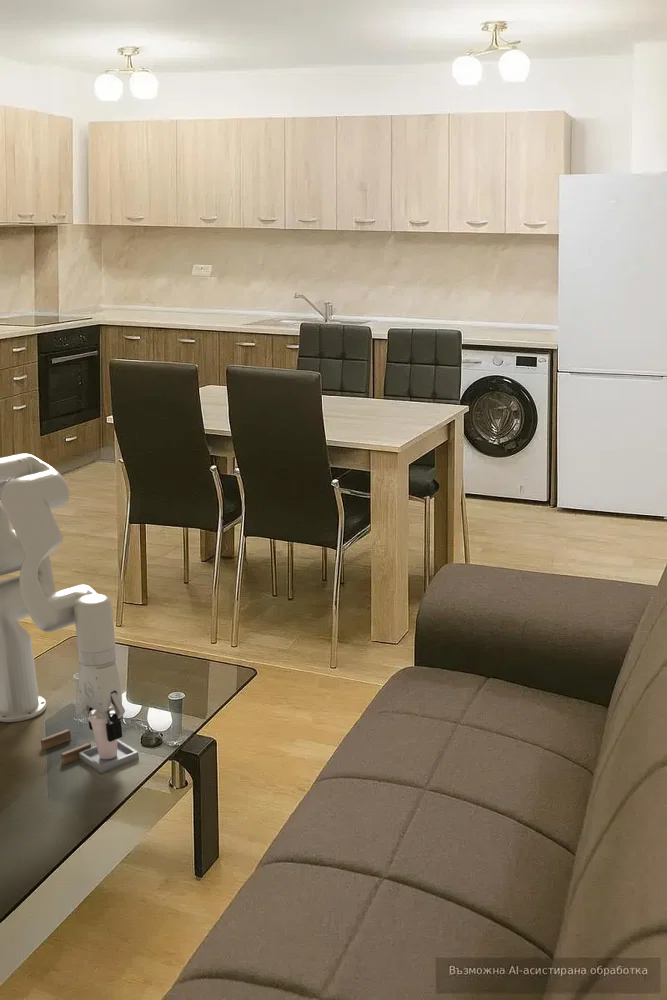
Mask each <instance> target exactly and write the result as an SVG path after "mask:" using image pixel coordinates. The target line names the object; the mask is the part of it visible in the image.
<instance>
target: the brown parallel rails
mask: <svg viewBox="0 0 667 1000" xmlns="http://www.w3.org/2000/svg"><path fill="white" fill-rule="evenodd" d="M71 740H72V737H71V730H70V729H68V728H66V729H64V730H62V731H59V732H56V733H53V734H51V735H48V736H45V737H43V738H41V739H40V746H41V750H43V751H46V750H48V749H50V748H53V747H55V746H58V745H60V744H63V743H66V742H69V741H71ZM91 747H92V744H91V743H90V742H87V743H84V744H81V745H79V746H76V747H74V748H71V749H69V750H66V751H64V752H61V754H60V757H61V764H63V765H67V764H70V763H72V762H74V761H76V760H80V759H79V752H81V751H83V750H86V749H89V748H91Z"/></svg>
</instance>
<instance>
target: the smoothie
mask: <svg viewBox="0 0 667 1000" xmlns="http://www.w3.org/2000/svg"><path fill="white" fill-rule="evenodd" d="M112 707H113V706H110V707H109V708H112ZM89 712H90V711H89ZM113 714H115V711H114V710H113V711H110V715H111V717H112V715H113ZM88 716H89V720H88V722H89V721H90V722H91V725H92V729H93V730H92V732H93V736H94V741H95V744H96V745H97V749H98V753H99V757H100V758H102V759H111V758H114V757H115V756H116V755H117V741H118V739H116V740H114V741H111V742H109V741H108V739H107V730H106V724H107V723H108V722H107V719H106V716H105V713H100V712H98V711H96V710H95V709H94V710H92V711H91V712H90V713H89V715H88V714H87V717H88ZM96 745H95V746H96Z"/></svg>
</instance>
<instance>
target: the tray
mask: <svg viewBox="0 0 667 1000" xmlns="http://www.w3.org/2000/svg"><path fill="white" fill-rule="evenodd" d="M139 755H140V754H139V751H138V750H136V749H134V748H133V747H132V746H129V745H128V744H126V743H125V742H124V741H121V739H120V738H119V739H118V741H117V755H116V756H115V757H114V758H111V759H102V758H100V757H99V753H98V749H97V745H94V746H91V748H89V749H86V750H83V751H81V752H79V759H78V760H80V761H81V762H83V763H84V764H85V765H87V767H90V769H91V768H92V769H93V770H94V771H96V772H97V773H99V774H100V775H103V774H105V773H108V772H110V771H113V770H115V769H118V768H120V767H122V766H124V765H126V764H127V765H128V764H129V763H132V762H134V761H137V760H139V757H140V756H139Z"/></svg>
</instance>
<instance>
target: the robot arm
mask: <svg viewBox="0 0 667 1000" xmlns="http://www.w3.org/2000/svg"><path fill="white" fill-rule="evenodd" d="M69 499H70V489H69V486H68V483H67V482H66V479H65V478H64V476H63V475H62V474H61V473H60V472H59V471H58V470H56V469H55V468H54V467H53V466H51V465H50V464H48V463H47V462H45V461H43V460H41V459H40V458H38V457H36V456H35V455H33V454H30V453H16V454H12V455H9V456H4V457H3V456H2V457H0V577H1V576H5V575H8V574H13V573H16V572H19V571H20V572H19V575H18V576H14V577H9V578H6V579H3V580H0V722H1V723H16V722H17V723H18V722H22V721H26V720H30V719H33V718H35V717H38V716H39V715H41V714H42V713H44V711H45V710H46V708H47V700H46V699H45V698H44V697H43V696H40V695H39V689H38V682H37V673H36V664H35V658H34V648H33V642H32V641H33V640H32V637H31V634H30V632H29V631H28V630H27V629H26V628H25V627H24V626H22V625H21V624H20V621H21V620H22V619H25V618H28V617H30V618H31V620H32V622H33V623H34V625H35V626H36V627H37V628H38V629H39V630H40V631H42V632H46V633H51V632H56V631H58V630H61V629H64V628H67V627H71V626H73V625H75V634H76V642H77V651H78V659H79V660H78V690H79V699H80V701H82V703H83V704H85V707H86V711H87V719H88V726H89V727H88V729H89V730H91V731H93V729H92V725H91V722H90V721H89V716H88V715H89V713H90V712H91V711H92V710H94V709H95V710H96V711H98V712H100V713H105V716H106V719H107V722H108V723H107V724H106V730H107V739H108V741H109V742H111V741H114V740H116V739H119V740H120V739H121V738H122V737H123V730H122V729H123V728H122V721H123V717H124V714H125V713H126V710H125V708H124V706H123V697H122V696H123V695H122V686H121V682H120V681H121V679H120V675H119V671H118V666H117V662H116V661H118V659H117V647H116V637H115V626H114V618H113V617H114V616H113V608H112V601H111V599H110V597H108V596H107V595H105V594H102V593H98V592H97V591H96V590H95V589H94V588H93V587H92V586H91V585H89V584H76V585H74V586H71V587H68V588H64V589H61V590H58V591H56V584H55V579H54V572H53V568H52V563H51V556H50V555H51V554H52V553H53V552H55V551H56V550H57V549H58V548H59V547H60V546H61V545H62V543H63V542H64V541H63V540H64V535H63V534H62V531H61V529H60V527H59V525H58V523H57V521H56V518H55V517H54V514H53V512H52V510H55V509H59V508H61V507H62V508H63V507H64V506H66V505H67V503H68V502H69ZM11 526H12V527H11ZM111 705H112V706H111ZM109 707H112V708H109ZM113 710H114V711H115V714H113V715H112V717H111V715H110V711H113Z"/></svg>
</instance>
